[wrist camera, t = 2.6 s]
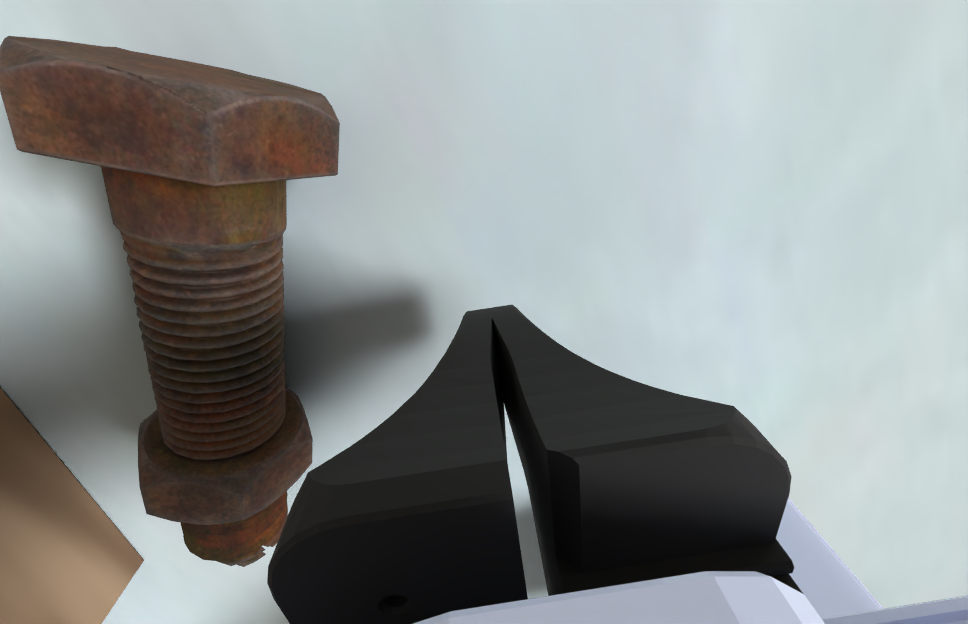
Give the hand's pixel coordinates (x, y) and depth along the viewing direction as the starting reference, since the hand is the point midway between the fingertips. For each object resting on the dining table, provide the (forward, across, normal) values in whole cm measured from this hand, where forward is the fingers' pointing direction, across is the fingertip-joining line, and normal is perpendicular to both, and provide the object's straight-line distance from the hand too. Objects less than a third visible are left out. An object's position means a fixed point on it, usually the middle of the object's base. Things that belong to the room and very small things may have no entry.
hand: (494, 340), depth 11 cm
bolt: (+3, +8, 0) cm, 9 cm away
